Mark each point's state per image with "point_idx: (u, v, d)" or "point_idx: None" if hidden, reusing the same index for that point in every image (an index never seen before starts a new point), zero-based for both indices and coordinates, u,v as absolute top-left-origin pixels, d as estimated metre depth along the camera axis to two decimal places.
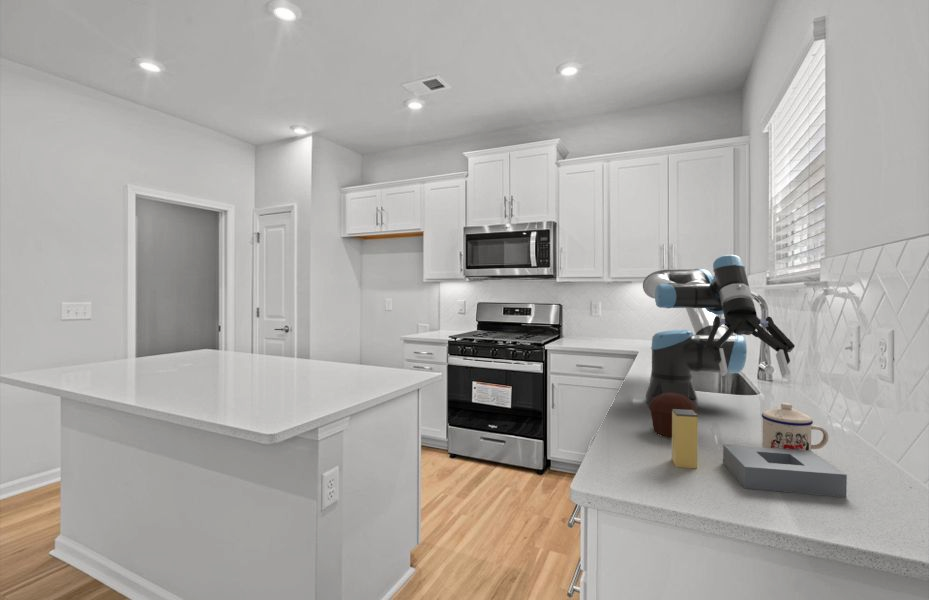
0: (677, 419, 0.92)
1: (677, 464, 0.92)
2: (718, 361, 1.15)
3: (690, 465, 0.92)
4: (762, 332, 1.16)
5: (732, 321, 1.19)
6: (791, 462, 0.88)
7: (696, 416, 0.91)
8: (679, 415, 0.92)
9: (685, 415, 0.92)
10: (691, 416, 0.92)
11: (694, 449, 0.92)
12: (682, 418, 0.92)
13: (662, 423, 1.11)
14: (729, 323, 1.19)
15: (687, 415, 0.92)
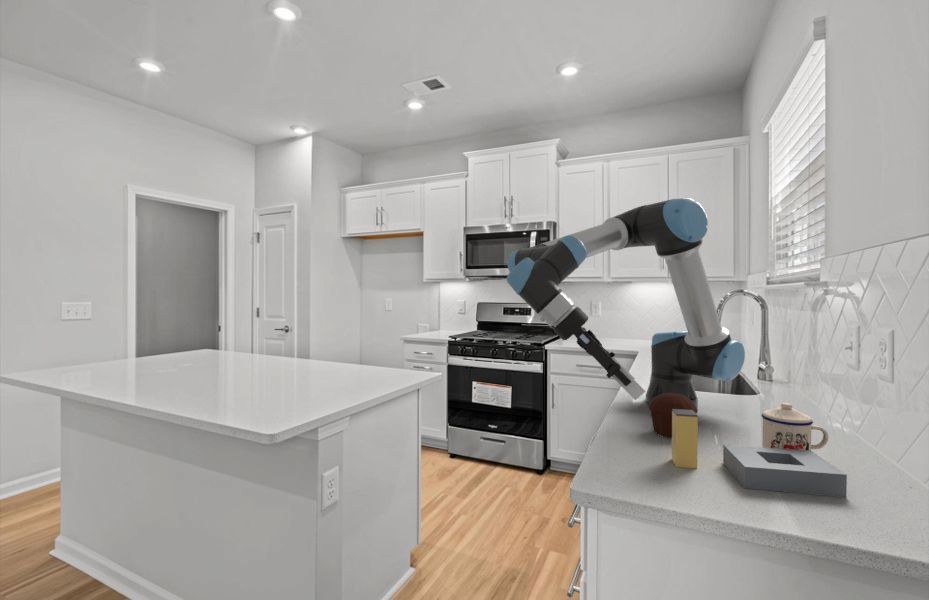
0: (677, 419, 0.92)
1: (677, 464, 0.92)
2: None
3: (690, 465, 0.92)
4: None
5: None
6: (791, 462, 0.88)
7: (696, 416, 0.91)
8: (679, 415, 0.92)
9: (685, 415, 0.92)
10: (691, 416, 0.92)
11: (694, 449, 0.92)
12: (682, 418, 0.92)
13: (662, 423, 1.11)
14: None
15: (687, 415, 0.92)
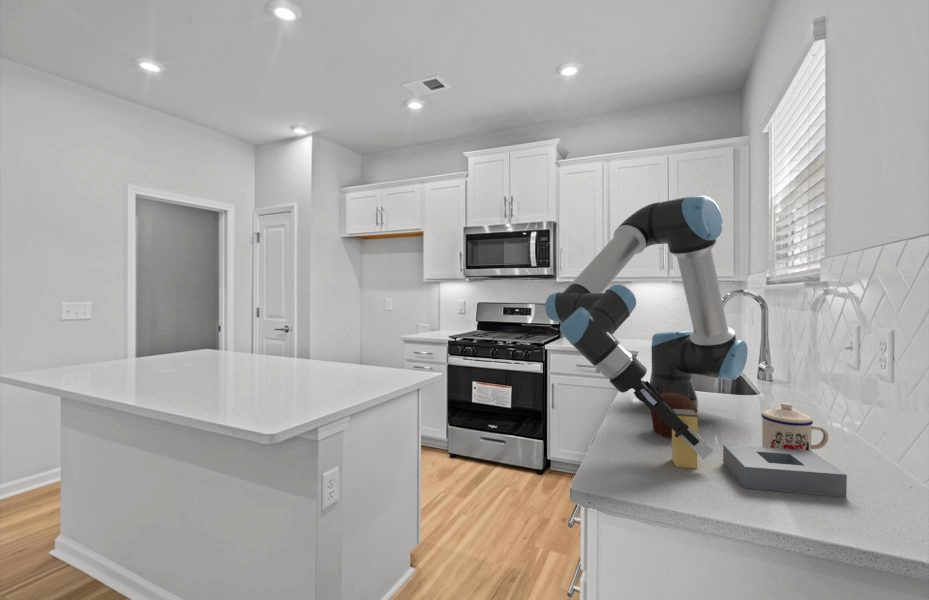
0: None
1: (677, 464, 0.92)
2: None
3: (690, 465, 0.92)
4: None
5: None
6: (791, 462, 0.88)
7: (696, 416, 0.91)
8: (679, 415, 0.92)
9: (685, 415, 0.92)
10: (691, 416, 0.92)
11: None
12: (682, 418, 0.92)
13: (662, 423, 1.11)
14: None
15: (687, 415, 0.92)
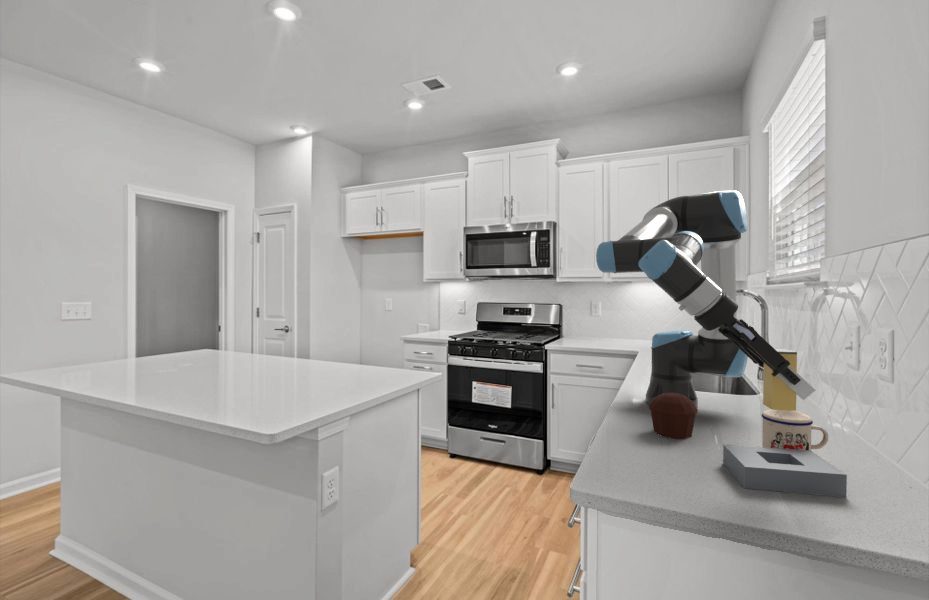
0: None
1: (773, 406, 0.84)
2: None
3: (788, 407, 0.84)
4: (747, 348, 0.85)
5: (723, 329, 0.90)
6: (791, 462, 0.88)
7: (795, 353, 0.83)
8: None
9: (782, 352, 0.84)
10: (789, 353, 0.84)
11: None
12: None
13: (662, 423, 1.11)
14: None
15: (785, 352, 0.84)
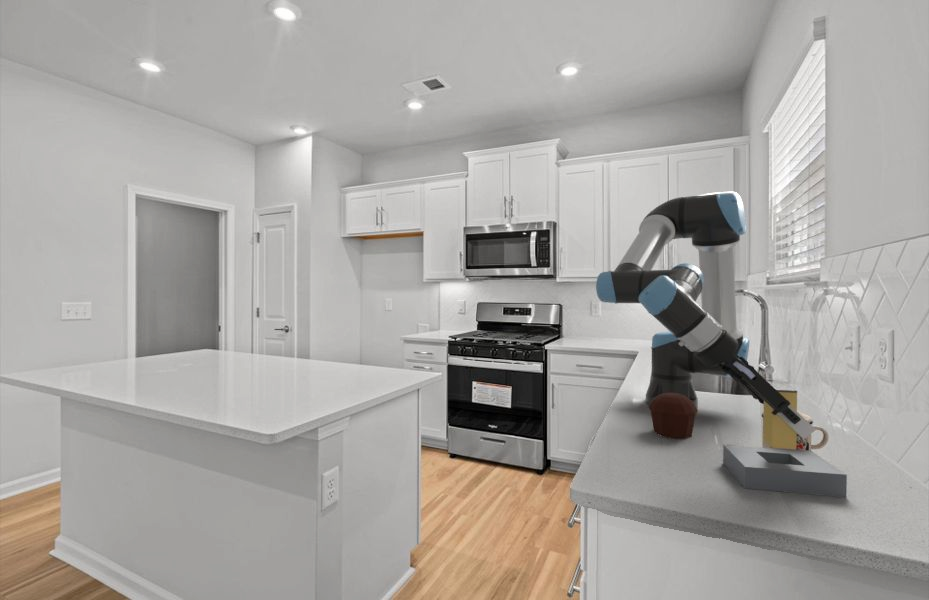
0: None
1: (773, 445, 0.84)
2: None
3: (788, 446, 0.84)
4: (748, 386, 0.85)
5: (723, 365, 0.90)
6: (791, 462, 0.88)
7: (795, 392, 0.83)
8: None
9: (783, 391, 0.84)
10: (790, 392, 0.83)
11: None
12: None
13: (662, 423, 1.11)
14: None
15: (785, 391, 0.84)
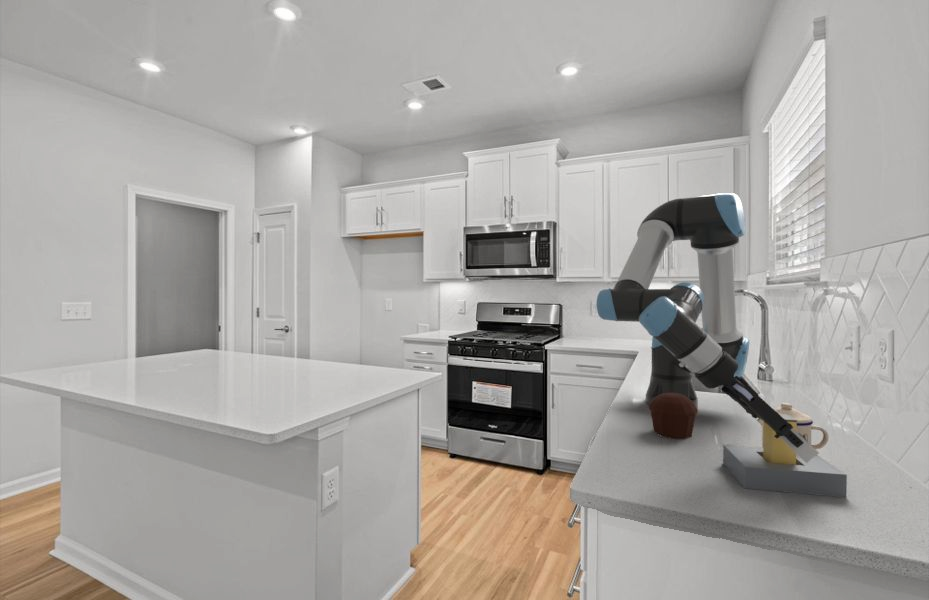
0: None
1: None
2: None
3: None
4: (749, 408, 0.85)
5: None
6: None
7: (795, 421, 0.84)
8: None
9: None
10: (789, 421, 0.84)
11: (792, 457, 0.84)
12: None
13: (662, 423, 1.11)
14: None
15: None
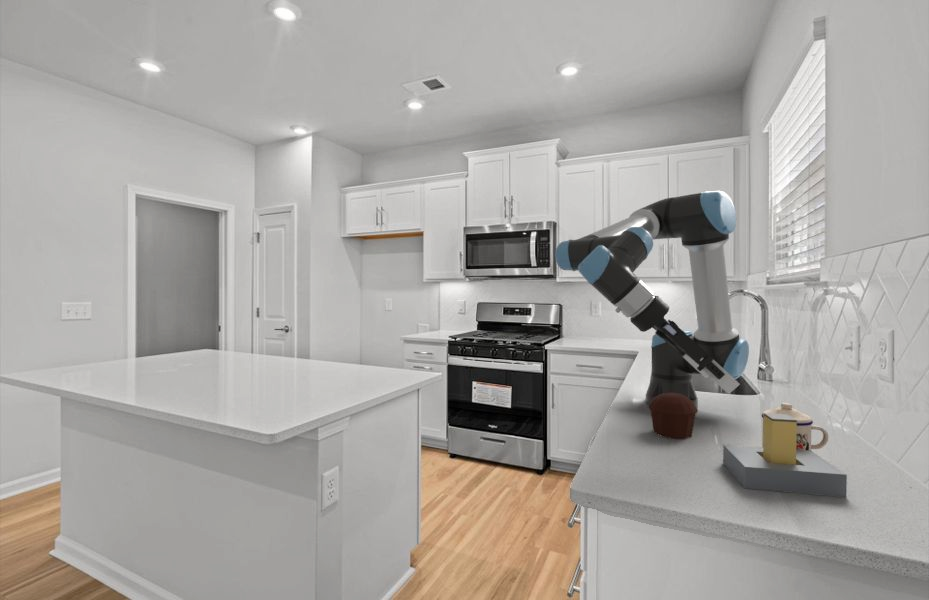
0: (773, 424, 0.85)
1: None
2: None
3: None
4: (677, 346, 0.88)
5: None
6: None
7: (795, 421, 0.84)
8: (775, 420, 0.84)
9: (782, 420, 0.84)
10: (789, 421, 0.84)
11: (792, 457, 0.84)
12: (779, 423, 0.84)
13: (662, 423, 1.11)
14: None
15: (785, 420, 0.84)
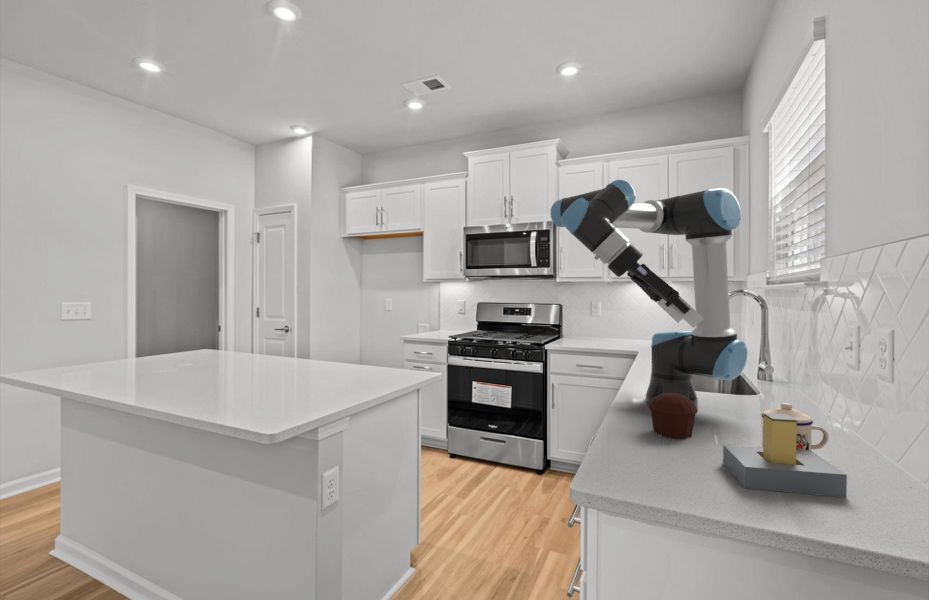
0: (773, 424, 0.85)
1: None
2: None
3: None
4: (649, 287, 0.97)
5: None
6: None
7: (795, 421, 0.84)
8: (775, 420, 0.84)
9: (782, 420, 0.84)
10: (789, 421, 0.84)
11: (792, 457, 0.84)
12: (779, 423, 0.84)
13: (662, 423, 1.11)
14: None
15: (785, 420, 0.84)
